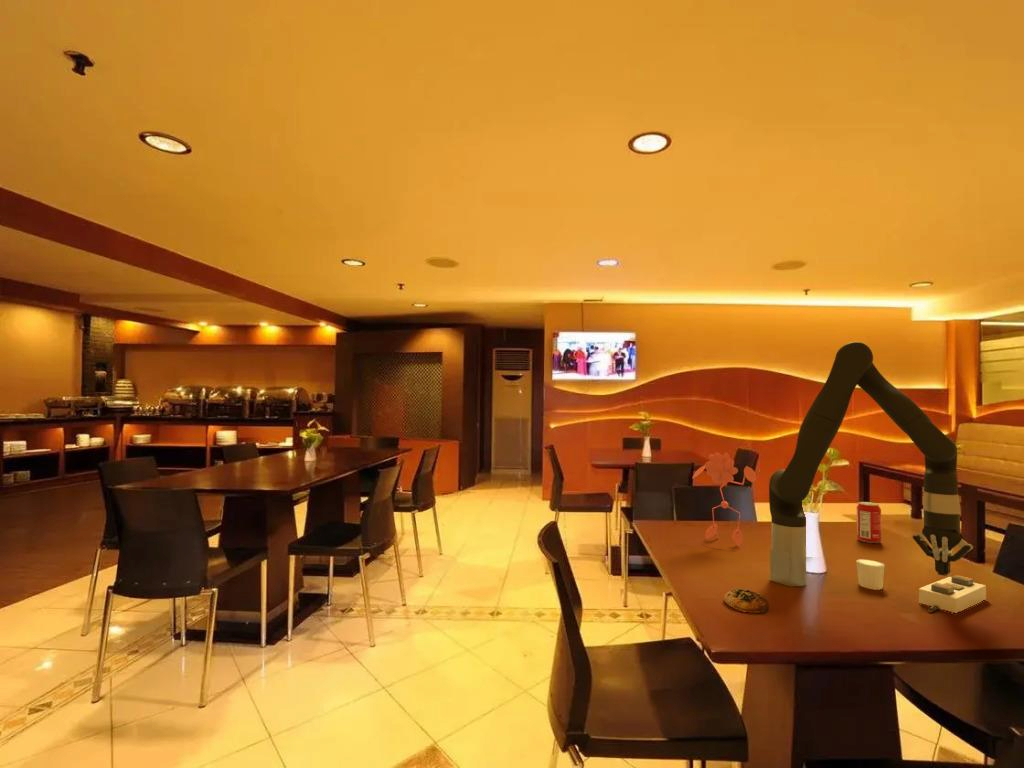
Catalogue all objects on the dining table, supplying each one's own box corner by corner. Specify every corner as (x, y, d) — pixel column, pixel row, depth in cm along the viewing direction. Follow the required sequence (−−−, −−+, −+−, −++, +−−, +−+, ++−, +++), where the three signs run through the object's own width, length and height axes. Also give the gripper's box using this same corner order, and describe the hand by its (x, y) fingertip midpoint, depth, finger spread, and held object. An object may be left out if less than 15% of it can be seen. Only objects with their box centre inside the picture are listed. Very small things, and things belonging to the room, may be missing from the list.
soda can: (859, 542, 196) (859, 504, 197) (854, 538, 203) (854, 500, 204) (884, 545, 193) (883, 506, 194) (878, 540, 200) (877, 502, 201)
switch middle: (958, 598, 135) (958, 589, 135) (941, 593, 138) (941, 584, 139) (963, 595, 137) (963, 586, 137) (947, 591, 140) (947, 582, 140)
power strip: (948, 618, 127) (948, 602, 127) (911, 606, 134) (911, 591, 134) (986, 600, 139) (985, 585, 140) (949, 590, 146) (949, 576, 146)
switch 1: (948, 598, 132) (948, 589, 132) (931, 593, 135) (931, 584, 135) (953, 596, 134) (953, 586, 134) (937, 591, 137) (937, 582, 137)
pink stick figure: (699, 533, 206) (698, 448, 206) (763, 548, 186) (762, 454, 187) (678, 540, 196) (677, 450, 197) (744, 557, 176) (743, 457, 177)
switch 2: (968, 589, 139) (967, 581, 139) (951, 585, 142) (951, 577, 142) (973, 587, 140) (973, 578, 141) (956, 583, 144) (956, 574, 144)
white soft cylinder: (878, 583, 151) (878, 560, 151) (889, 591, 145) (889, 567, 145) (852, 581, 153) (852, 557, 153) (861, 588, 146) (861, 564, 147)
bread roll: (778, 608, 131) (776, 589, 131) (751, 623, 126) (749, 603, 126) (740, 595, 141) (738, 578, 141) (714, 609, 135) (712, 590, 135)
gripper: (905, 506, 139) (907, 570, 139) (967, 516, 128) (969, 585, 127) (917, 504, 143) (919, 565, 143) (978, 512, 132) (980, 579, 131)
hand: (943, 574), depth 135 cm, fingers closed
